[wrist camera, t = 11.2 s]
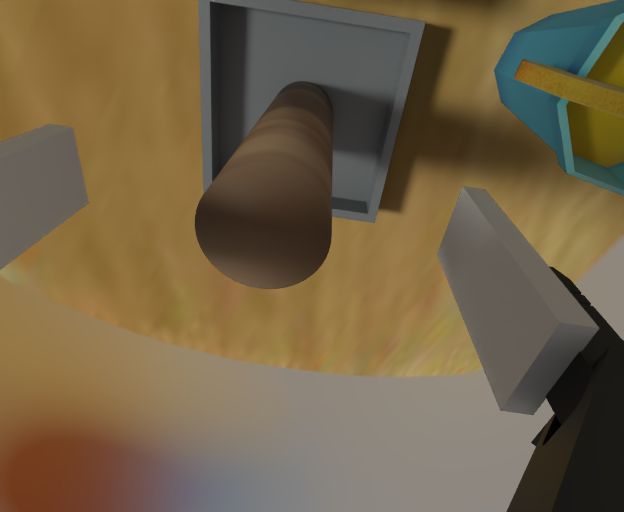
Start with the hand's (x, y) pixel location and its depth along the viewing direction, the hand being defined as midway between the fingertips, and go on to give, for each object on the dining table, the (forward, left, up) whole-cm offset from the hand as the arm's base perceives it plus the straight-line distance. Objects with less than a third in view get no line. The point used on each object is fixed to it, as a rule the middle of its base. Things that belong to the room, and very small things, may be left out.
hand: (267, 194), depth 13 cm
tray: (0, 0, -14) cm, 14 cm away
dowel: (0, 0, -14) cm, 14 cm away
